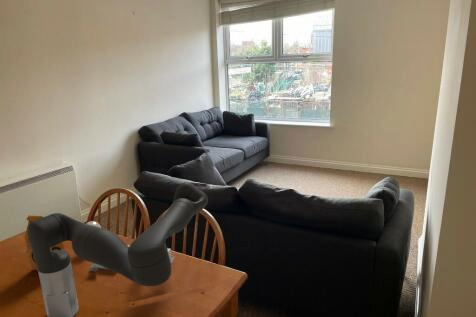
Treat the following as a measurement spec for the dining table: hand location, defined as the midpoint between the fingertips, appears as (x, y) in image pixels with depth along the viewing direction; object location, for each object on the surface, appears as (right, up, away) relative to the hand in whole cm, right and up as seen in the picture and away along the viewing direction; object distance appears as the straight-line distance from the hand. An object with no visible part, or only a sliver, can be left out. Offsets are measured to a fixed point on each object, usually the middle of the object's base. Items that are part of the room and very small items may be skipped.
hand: (155, 241), depth 137 cm
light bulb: (-31, -7, +20) cm, 37 cm away
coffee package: (-42, -12, +6) cm, 44 cm away
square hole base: (-10, -11, +6) cm, 16 cm away
